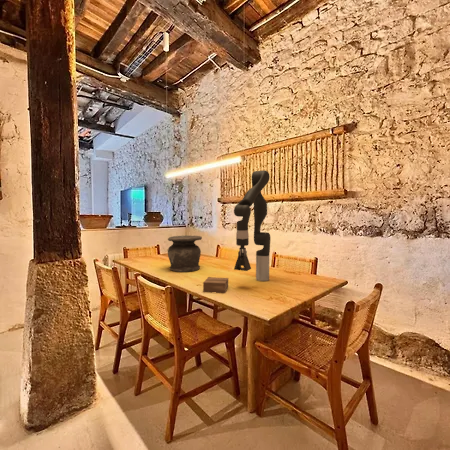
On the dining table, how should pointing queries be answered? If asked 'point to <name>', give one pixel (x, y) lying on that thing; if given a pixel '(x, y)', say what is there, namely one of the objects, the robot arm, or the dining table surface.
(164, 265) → the dining table surface
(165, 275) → the dining table surface
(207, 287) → the walnut block
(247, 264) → the phone stand
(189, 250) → the clay pot
